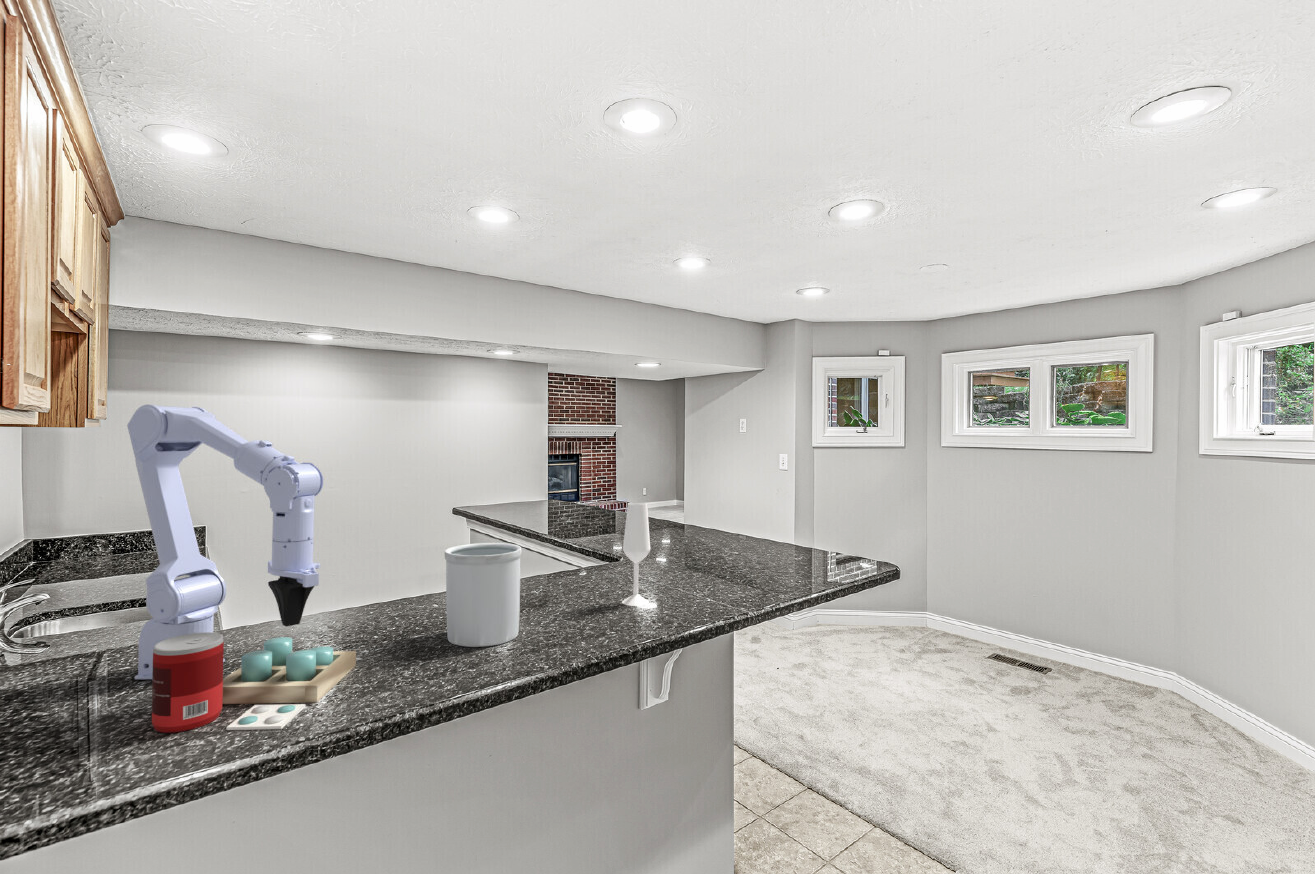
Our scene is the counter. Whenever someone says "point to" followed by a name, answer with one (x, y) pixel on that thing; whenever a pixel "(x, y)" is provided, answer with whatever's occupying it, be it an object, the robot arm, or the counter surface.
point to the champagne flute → (636, 545)
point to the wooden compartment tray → (288, 684)
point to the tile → (266, 717)
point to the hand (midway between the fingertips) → (291, 624)
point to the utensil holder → (482, 593)
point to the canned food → (187, 681)
